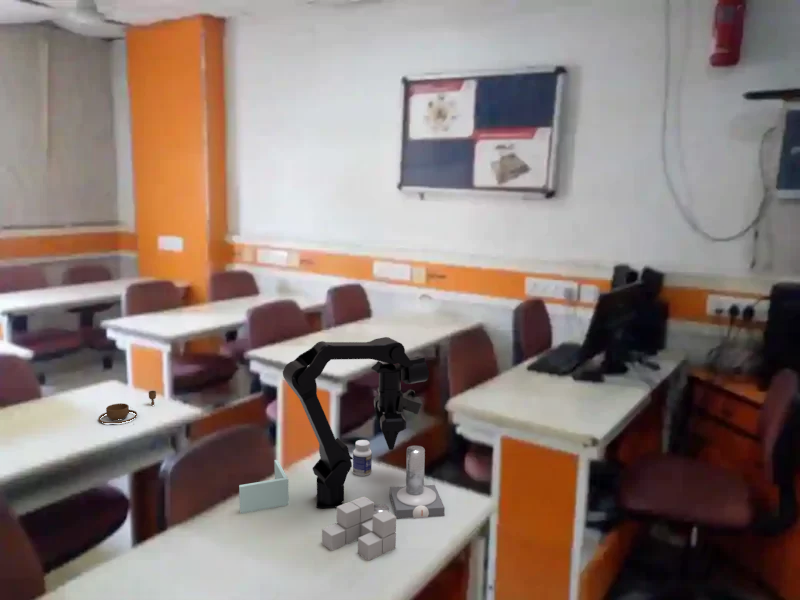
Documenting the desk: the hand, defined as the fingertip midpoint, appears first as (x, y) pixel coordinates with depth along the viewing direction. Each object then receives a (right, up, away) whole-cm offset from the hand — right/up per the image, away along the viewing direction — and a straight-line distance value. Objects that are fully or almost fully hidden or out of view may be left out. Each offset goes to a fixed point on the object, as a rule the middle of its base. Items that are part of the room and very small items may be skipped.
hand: (388, 442), depth 172 cm
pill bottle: (-8, -11, +11) cm, 18 cm away
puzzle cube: (-6, -18, -25) cm, 31 cm away
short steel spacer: (-2, -16, -14) cm, 21 cm away
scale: (+7, -15, -6) cm, 17 cm away
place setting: (-89, -3, +49) cm, 101 cm away
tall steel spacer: (+7, -12, -5) cm, 14 cm away
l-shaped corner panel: (-33, -14, -4) cm, 36 cm away
